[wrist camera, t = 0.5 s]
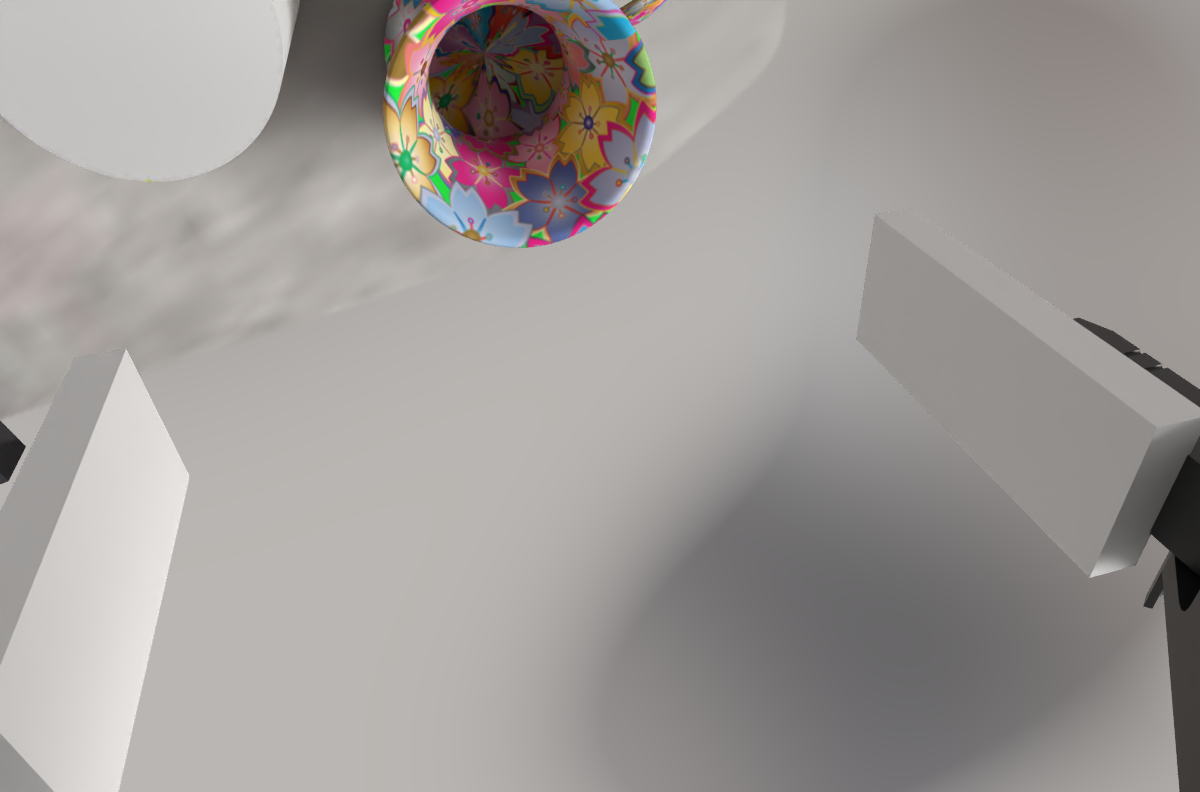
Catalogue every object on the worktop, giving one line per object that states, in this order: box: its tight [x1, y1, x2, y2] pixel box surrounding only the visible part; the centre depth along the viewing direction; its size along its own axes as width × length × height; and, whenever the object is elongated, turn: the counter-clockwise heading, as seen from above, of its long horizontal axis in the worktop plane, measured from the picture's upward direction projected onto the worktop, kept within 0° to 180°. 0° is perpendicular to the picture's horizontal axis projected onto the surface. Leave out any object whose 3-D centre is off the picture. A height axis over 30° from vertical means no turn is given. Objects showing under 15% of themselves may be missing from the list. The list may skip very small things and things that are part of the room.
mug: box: [383, 0, 667, 248], centre depth 31 cm, size 12×9×11 cm
